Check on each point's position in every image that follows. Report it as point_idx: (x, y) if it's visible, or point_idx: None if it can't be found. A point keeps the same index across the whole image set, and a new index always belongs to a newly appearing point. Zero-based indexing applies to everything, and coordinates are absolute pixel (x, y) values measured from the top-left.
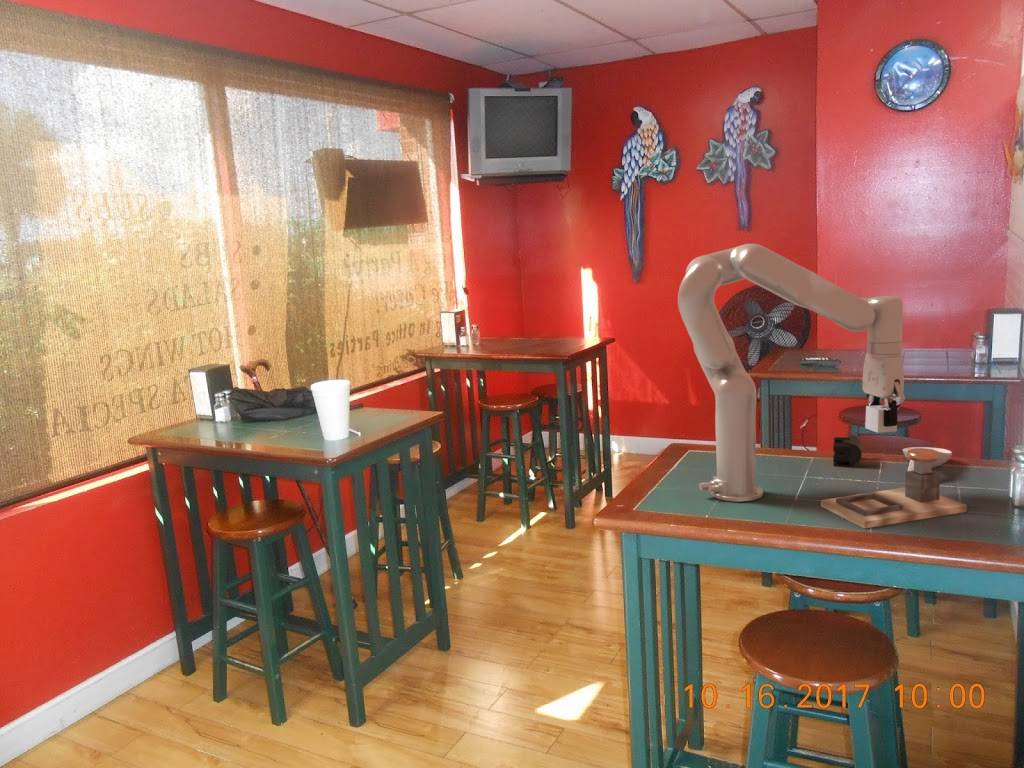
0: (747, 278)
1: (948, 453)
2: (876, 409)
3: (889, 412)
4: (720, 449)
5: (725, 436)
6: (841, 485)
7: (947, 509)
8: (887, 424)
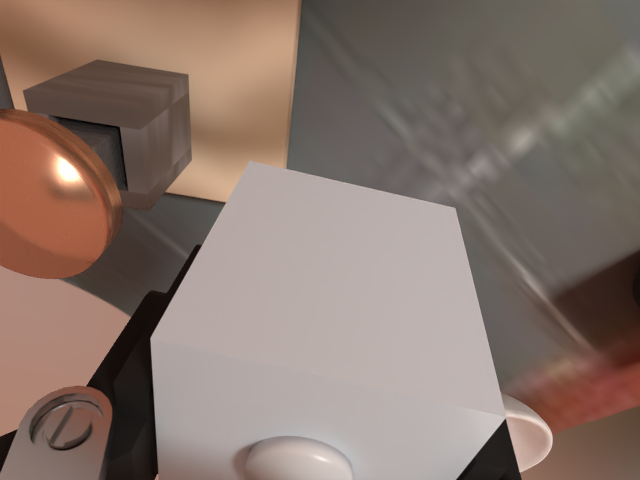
0: None
1: None
2: (210, 350)
3: (103, 380)
4: None
5: None
6: (533, 17)
7: (13, 88)
8: None
